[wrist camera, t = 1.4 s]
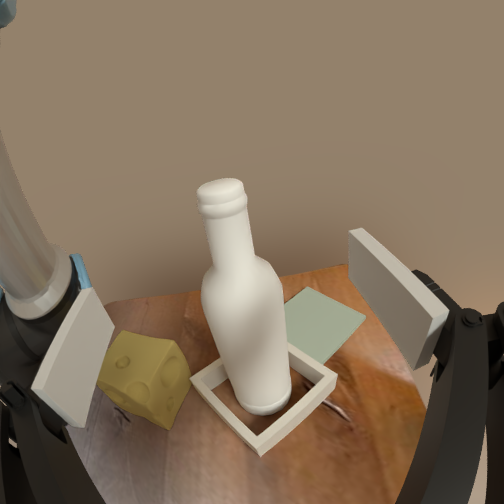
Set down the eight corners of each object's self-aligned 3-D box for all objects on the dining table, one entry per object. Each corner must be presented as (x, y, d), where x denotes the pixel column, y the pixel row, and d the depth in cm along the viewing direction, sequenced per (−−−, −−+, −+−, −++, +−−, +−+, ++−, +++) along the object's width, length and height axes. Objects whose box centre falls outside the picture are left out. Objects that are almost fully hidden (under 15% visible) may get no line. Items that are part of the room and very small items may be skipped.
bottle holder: (197, 391, 37) (189, 378, 35) (266, 341, 44) (264, 325, 42) (260, 456, 27) (256, 449, 25) (334, 388, 34) (337, 374, 32)
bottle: (280, 423, 31) (243, 206, 15) (228, 407, 34) (146, 206, 19) (298, 377, 37) (284, 168, 21) (250, 366, 40) (203, 171, 25)
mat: (255, 328, 47) (255, 325, 47) (307, 288, 54) (307, 286, 54) (316, 370, 37) (316, 368, 37) (365, 318, 44) (366, 316, 44)
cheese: (171, 432, 31) (139, 401, 26) (117, 408, 34) (83, 374, 29) (197, 378, 39) (177, 338, 34) (145, 363, 42) (120, 324, 37)
